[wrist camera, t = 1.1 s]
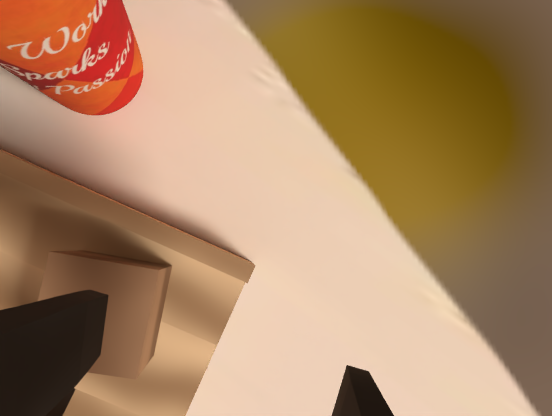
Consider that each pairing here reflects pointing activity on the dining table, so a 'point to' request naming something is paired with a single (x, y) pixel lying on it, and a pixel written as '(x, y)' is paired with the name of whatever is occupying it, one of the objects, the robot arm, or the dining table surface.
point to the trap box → (130, 244)
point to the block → (115, 303)
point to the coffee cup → (72, 51)
